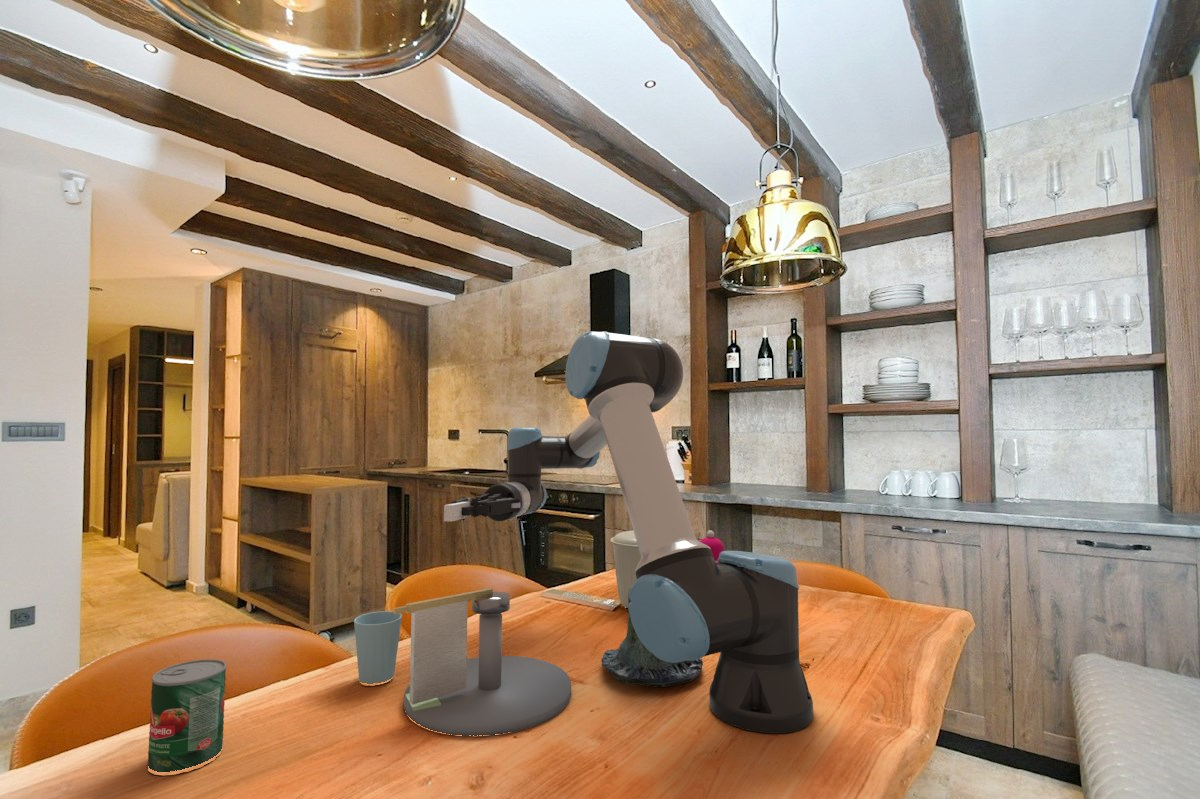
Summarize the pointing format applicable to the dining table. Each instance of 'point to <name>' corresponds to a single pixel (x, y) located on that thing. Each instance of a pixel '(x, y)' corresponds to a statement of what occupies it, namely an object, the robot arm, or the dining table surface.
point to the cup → (377, 645)
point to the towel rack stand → (444, 640)
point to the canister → (625, 562)
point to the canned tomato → (186, 714)
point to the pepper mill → (713, 545)
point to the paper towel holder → (496, 691)
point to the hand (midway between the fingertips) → (447, 513)
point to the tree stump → (646, 663)
